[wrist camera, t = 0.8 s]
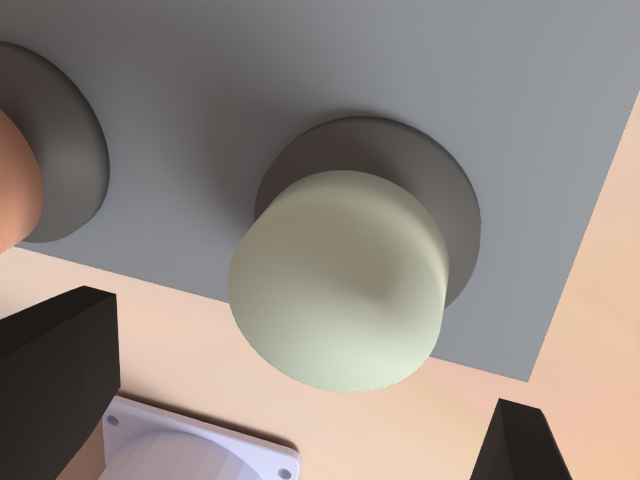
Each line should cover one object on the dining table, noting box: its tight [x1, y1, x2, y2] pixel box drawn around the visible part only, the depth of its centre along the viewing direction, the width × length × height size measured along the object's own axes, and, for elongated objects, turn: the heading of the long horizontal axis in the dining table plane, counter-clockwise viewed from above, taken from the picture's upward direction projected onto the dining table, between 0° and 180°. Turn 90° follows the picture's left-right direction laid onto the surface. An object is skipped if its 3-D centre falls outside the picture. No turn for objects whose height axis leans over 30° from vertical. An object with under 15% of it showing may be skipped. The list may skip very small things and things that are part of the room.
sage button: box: [227, 170, 449, 393], centre depth 13 cm, size 4×4×2 cm
